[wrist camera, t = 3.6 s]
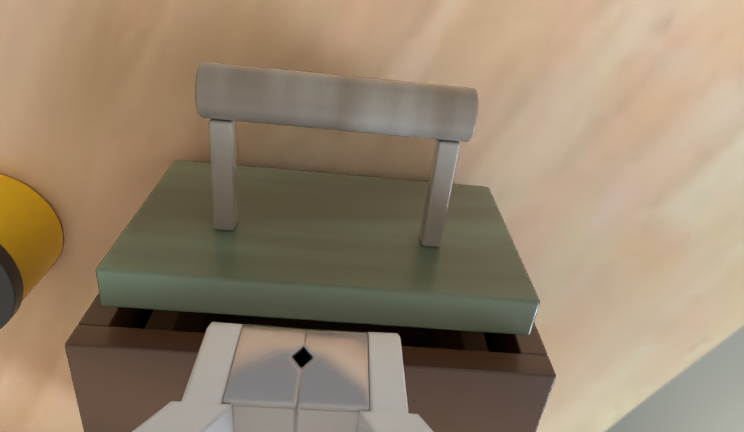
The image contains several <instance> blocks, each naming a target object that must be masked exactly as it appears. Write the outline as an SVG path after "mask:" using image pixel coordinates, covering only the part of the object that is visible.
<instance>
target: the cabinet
mask: <svg viewBox="0 0 744 432" xmlns="http://www.w3.org/2000/svg"><path fill="white" fill-rule="evenodd" d="M152 312H153V309H138V308H124V307H109V306H103V305H102V304H101V299H100V293H99V294H98V295H97V297H96V298H95V300H94V301H93V303H92V304H91V306H90V307H89V309H88V310H87V312H86V313H85V315H84V316H83V318H82V319H81V321H80V322H79V325H78V326H77V327H76V329H75V330H74V332H73V333H72V335H71V336H70V337H69V339H68V340H67V342H66V343H65V349H66V354H67V358H68V362H69V367H70V371H71V376H72V380H73V385H74V389H75V393H76V398H77V402H78V407H79V411H80V416H81V420H82V424H83V429H84V432H132V431H133V430H135V429H136V428H137V427H139V426H140V425H141V424H142V423H144V422H145V421H146V420H148V419H149V418H150V417H151V416H153V415H154V414H155V413H156V412H158V411H159V410H160V409H162V408H163V407H164V406H165V405H167V404H168V403H169V402H171V401H179V402H181V401H182V398H183V395H184V392H185V389H186V386H187V384H188V381H189V378H190V375H191V372H192V369H193V367H194V364H195V361H196V358H197V355H198V352H199V350H200V347H201V344H202V341H203V338H204V335H205V333H200V332H185V331H169V330H154V329H144V328H145V326H146V324H147V322H148V320H149V318H150V316H151V314H152ZM483 333H484V336H485V340H486V343H487V347H488V350H489V352H486V351H471V350H456V349H441V348H426V347H411V346H401V348H402V357H403V367H404V376H405V385H406V395H407V404H408V413H411V414H419V416H420V417H421V418H422V419H423V420H424V421H425V422H426V424H427V425H428V426H429V427H430V428H431V429H432V430H433V432H536V430H537V427H538V425H539V422H540V419H541V417H542V414H543V411H544V408H545V406H546V403H547V400H548V398H549V395H550V392H551V390H552V387H553V384H554V381H555V379H556V374H555V372H554V369H553V367H552V364H551V362H550V360H549V357H548V356H547V352H546V350H545V347H544V345H543V343H542V340H541V338H540V335H539V333H538V330H537V328H536V326H535V323H534V324H533V327H532V330H531V333H530V334H529V335H517V334H503V333H488V332H483Z"/></svg>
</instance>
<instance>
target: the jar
mask: <svg viewBox="0 0 744 432" xmlns="http://www.w3.org/2000/svg"><path fill="white" fill-rule="evenodd" d="M62 246H63V231H62V228H61V224H60V222H59V219H58V217H57V215H56V214H55V212H54V210H53V209H52V208H51V206H50V205H49V204H48V203H47V202H46V201H45V200H44V199H43V198H42V197H41V196H40V195H39V194H38V193H37V192H35V191H34V190H33V189H31V188H30V187H28V186H27V185H25V184H23V183H22V182H20V181H17V180H15V179H13V178H11V177H8V176H5V175H1V174H0V329H1V328H2V327H3V326H4V325H5V324H6V323H7V322H8V321H9V320H10V319H11V318H12V317H13V315H14V314H15V313H16V312H17V310H18V309H19V307H20V305H21V302H22V300H23V299H24V298H25V297H26V296H27V294H28V293H29V292H30V291H31V290H32V289H33V287H34V286H35V285H36V284H37V283H38V281H39V280H40V279H41V278H42V277H43V276H44V274H45V273H46V272H47V271H48V270H49V269H50V267H51V266H52V265H53V264H54V263H55V262H56V260H57V259H58V257H59V255H60V253H61V251H62Z"/></svg>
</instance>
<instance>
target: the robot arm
mask: <svg viewBox="0 0 744 432" xmlns="http://www.w3.org/2000/svg"><path fill="white" fill-rule="evenodd" d="M132 432H433V430H432V429H431V428H430V427H429V426H428V425H427V424H426V422H425V421H424V420H423V419H422V418H421V417H420V416H419V414H411V413H408V404H407V395H406V385H405V376H404V367H403V357H402V348H401V339H400V336H399V335H398V333H382V332H368V333H366V332H351V331H333V330H315V329H299V328H288V327H276V326H264V325H253V324H244V325H243V324H234V323H222V322H212V323H211V324H210V325H209V326H208V328H207V330H206V333H205V335H204V338H203V341H202V344H201V347H200V350H199V352H198V355H197V358H196V361H195V364H194V367H193V369H192V372H191V375H190V378H189V381H188V384H187V386H186V389H185V392H184V395H183V398H182V401H181V402H179V401H171V402H169V403H168V404H167V405H165V406H164V407H163V408H162V409H160V410H159V411H158V412H156V413H155V414H154V415H153V416H151V417H150V418H149V419H148V420H146V421H145V422H144V423H142V424H141V425H140V426H139V427H137V428H136V429H135V430H133V431H132Z"/></svg>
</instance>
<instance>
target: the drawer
mask: <svg viewBox="0 0 744 432" xmlns="http://www.w3.org/2000/svg"><path fill="white" fill-rule="evenodd" d="M195 101H196V107H197V111H198V114H199V116H200V117H202V118H210V119H211V120H210V121H209V135H210V158H211V163H206V162H194V161H182V160H175V161H174V162H173V163H172V165H171V166H170V168H169V169H168V170H167V172H166V173H165V174H164V176H163V177H162V179H161V180H160V181H159V183H158V184H157V185H156V187H155V188H154V190H153V191H152V192H151V194H150V195H149V197H148V198H147V199H146V201H145V202H144V203H143V205H142V206H141V208H140V209H139V210H138V212H137V213H136V214H135V216H134V217H133V219H132V220H131V221H130V223H129V224H128V226H127V227H126V228H125V230H124V231H123V232H122V234H121V235H120V237H119V238H118V239H117V241H116V242H115V244H114V245H113V246H112V248H111V249H110V250H109V252H108V253H107V255H106V256H105V257H104V259H103V260H102V261H101V263H100V264H99V266H98V267H97V269H96V276H97V282H98V287H99V293H100V299H101V304H102V305H103V306H109V307H124V308H138V309H153V312H152V314H151V316H150V318H149V320H148V322H147V324H146V326H145V328H144V329H154V330H169V331H185V332H200V333H206V330H207V328H208V326H209V325H210V324H211V323H212V322H222V323H234V324H243V325H244V324H253V325H264V326H276V327H288V328H299V329H315V330H333V331H351V332H366V333H368V332H382V333H398V335H399V336H400V339H401V346H411V347H426V348H441V349H456V350H471V351H486V352H489V350H488V347H487V343H486V340H485V336H484V333H483V332H488V333H503V334H517V335H529V334H530V333H531V330H532V327H533V324H534V320H535V317H536V314H537V311H538V308H539V305H540V300H539V298H538V296H537V294H536V291H535V289H534V287H533V285H532V283H531V280H530V278H529V276H528V274H527V272H526V269H525V267H524V265H523V263H522V260H521V258H520V256H519V254H518V252H517V249H516V247H515V245H514V243H513V240H512V238H511V236H510V234H509V232H508V229H507V227H506V225H505V223H504V220H503V218H502V216H501V214H500V212H499V209H498V207H497V205H496V203H495V201H494V198H493V196H492V194H491V192H490V189H489V188H488V187H483V186H471V185H460V184H453V180H454V175H455V170H456V164H457V159H458V154H459V149H460V143H459V141H460V142H469V141H470V140H471V138H472V136H473V134H474V131H475V127H476V122H477V116H478V94H477V91H476V89H474V88H466V87H456V86H446V85H436V84H426V83H416V82H405V81H395V80H385V79H375V78H365V77H355V76H345V75H334V74H324V73H314V72H304V71H294V70H284V69H274V68H264V67H253V66H243V65H233V64H223V63H213V62H202V63H201V64H200V66H199V68H198V71H197V76H196V84H195ZM236 121H243V122H254V123H264V124H275V125H286V126H297V127H308V128H319V129H330V130H341V131H351V132H362V133H373V134H384V135H395V136H406V137H417V138H428V139H436V140H435V146H434V152H433V158H432V163H431V169H430V175H429V181H428V182H425V181H413V180H402V179H390V178H379V177H367V176H356V175H344V174H333V173H321V172H309V171H298V170H286V169H275V168H263V167H252V166H240V165H237V153H236Z"/></svg>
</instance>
